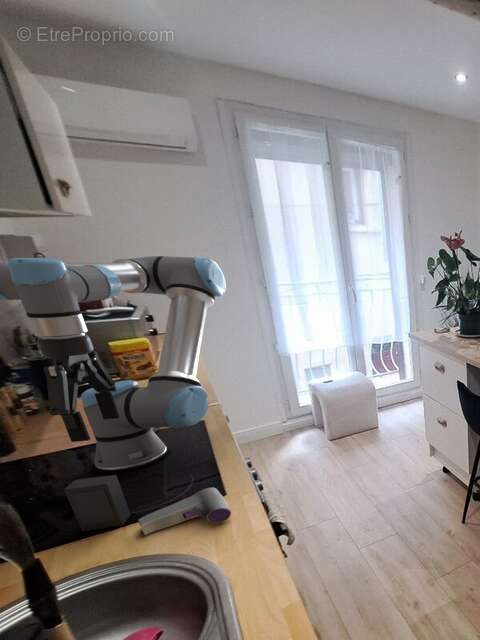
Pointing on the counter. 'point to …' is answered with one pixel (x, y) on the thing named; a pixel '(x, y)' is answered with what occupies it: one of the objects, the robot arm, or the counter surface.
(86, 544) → the counter surface
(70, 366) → the robot arm
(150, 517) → the infrared thermometer
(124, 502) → the block
